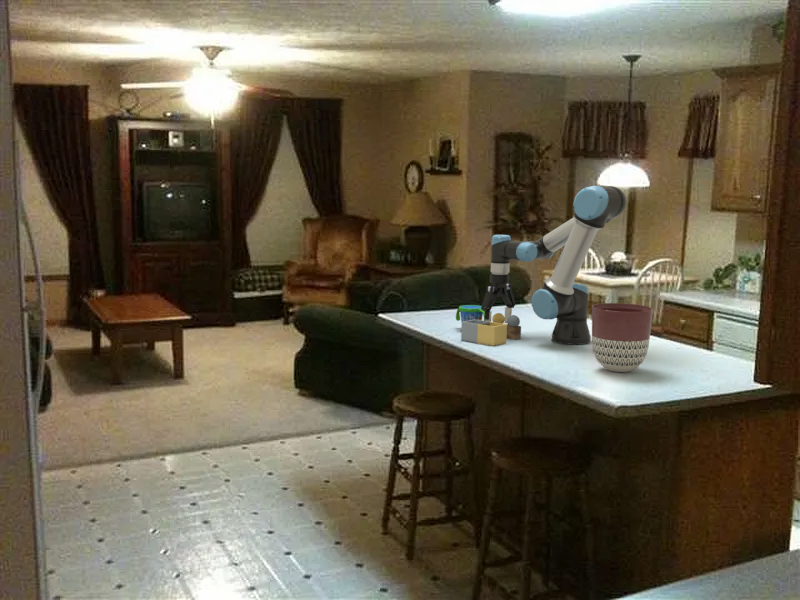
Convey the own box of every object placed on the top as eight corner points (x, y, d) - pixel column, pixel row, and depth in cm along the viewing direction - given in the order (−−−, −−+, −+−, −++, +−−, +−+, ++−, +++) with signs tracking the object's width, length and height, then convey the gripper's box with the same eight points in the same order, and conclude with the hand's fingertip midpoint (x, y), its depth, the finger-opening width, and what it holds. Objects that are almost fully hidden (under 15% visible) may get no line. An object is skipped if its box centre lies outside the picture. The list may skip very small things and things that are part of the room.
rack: (520, 338, 331) (521, 326, 330) (514, 339, 328) (515, 327, 327) (496, 334, 339) (496, 322, 338) (490, 335, 336) (490, 323, 335)
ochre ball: (506, 325, 336) (507, 313, 335) (499, 326, 332) (500, 314, 331) (496, 323, 339) (497, 311, 338) (489, 325, 335) (489, 313, 335)
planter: (613, 379, 263) (616, 313, 260) (577, 367, 281) (579, 304, 278) (661, 374, 271) (665, 310, 268) (623, 362, 289) (626, 301, 286)
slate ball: (522, 327, 331) (522, 315, 330) (514, 329, 327) (515, 316, 326) (511, 326, 334) (512, 313, 333) (504, 327, 330) (504, 315, 330)
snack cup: (449, 329, 350) (449, 305, 349) (467, 326, 357) (467, 303, 356) (475, 334, 338) (475, 310, 337) (493, 332, 345) (494, 307, 344)
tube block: (506, 343, 321) (506, 324, 320) (493, 346, 315) (494, 326, 314) (474, 337, 331) (474, 319, 330) (461, 340, 325) (461, 321, 324)
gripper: (510, 270, 344) (508, 320, 347) (473, 274, 326) (471, 327, 329) (525, 271, 339) (523, 322, 342) (488, 276, 321) (486, 330, 324)
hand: (497, 325), depth 336 cm, fingers open, 13 cm apart
